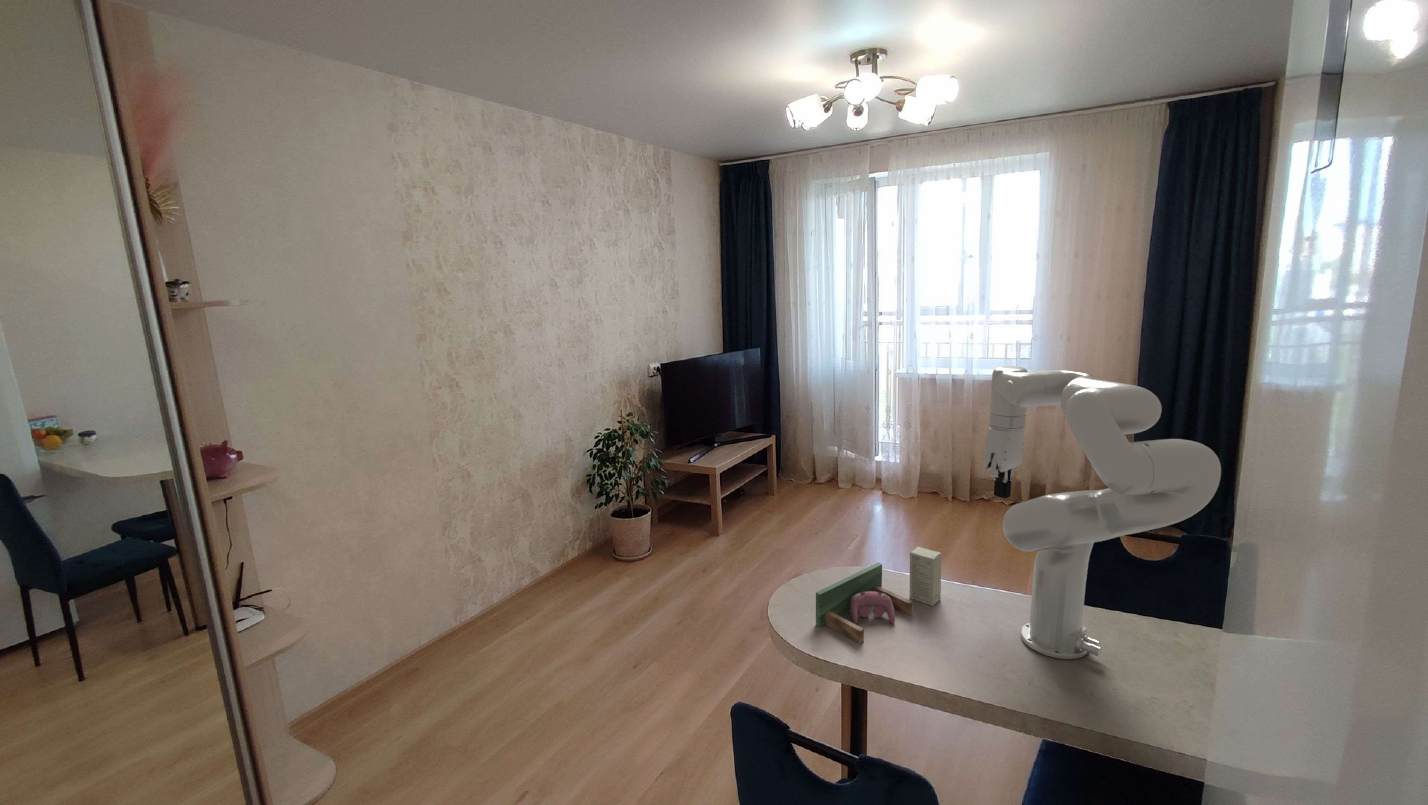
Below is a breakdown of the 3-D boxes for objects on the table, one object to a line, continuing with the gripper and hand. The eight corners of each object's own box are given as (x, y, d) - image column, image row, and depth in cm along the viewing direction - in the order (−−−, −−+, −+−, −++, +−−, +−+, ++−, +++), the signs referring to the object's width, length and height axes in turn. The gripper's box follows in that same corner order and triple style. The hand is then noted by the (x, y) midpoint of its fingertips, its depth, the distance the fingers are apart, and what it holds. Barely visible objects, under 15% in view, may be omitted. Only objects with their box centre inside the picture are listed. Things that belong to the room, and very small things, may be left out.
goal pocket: (916, 610, 146) (917, 579, 145) (854, 646, 133) (855, 612, 132) (877, 592, 155) (878, 562, 153) (815, 624, 142) (815, 592, 140)
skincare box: (940, 599, 151) (943, 552, 148) (932, 607, 148) (934, 559, 145) (916, 591, 155) (918, 545, 153) (907, 597, 152) (909, 551, 150)
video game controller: (892, 622, 145) (890, 590, 146) (897, 624, 140) (894, 591, 142) (849, 622, 145) (847, 590, 147) (852, 624, 141) (850, 591, 143)
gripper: (1007, 412, 151) (1002, 484, 155) (974, 423, 142) (969, 500, 146) (1039, 417, 145) (1033, 492, 149) (1007, 429, 136) (1001, 509, 140)
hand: (1001, 496), depth 147 cm, fingers closed
